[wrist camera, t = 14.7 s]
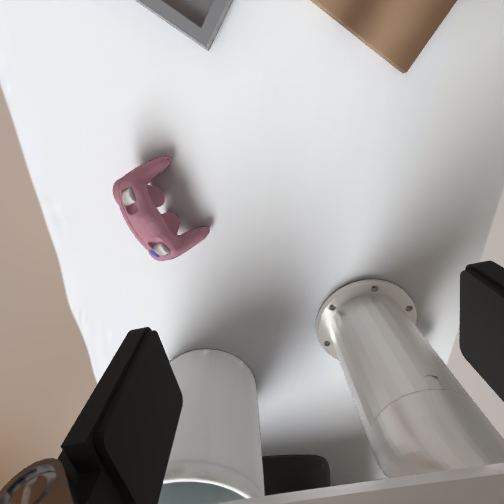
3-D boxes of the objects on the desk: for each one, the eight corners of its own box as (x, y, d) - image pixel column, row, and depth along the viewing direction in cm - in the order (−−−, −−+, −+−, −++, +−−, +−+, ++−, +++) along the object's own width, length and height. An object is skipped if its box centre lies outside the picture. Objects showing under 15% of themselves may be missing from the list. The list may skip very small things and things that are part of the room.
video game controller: (142, 164, 36) (93, 189, 30) (170, 149, 33) (122, 174, 28) (187, 240, 39) (151, 274, 34) (216, 232, 37) (181, 268, 31)
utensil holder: (184, 326, 42) (147, 460, 26) (280, 370, 46) (299, 512, 30) (139, 399, 47) (85, 548, 31) (229, 433, 51) (221, 584, 35)
